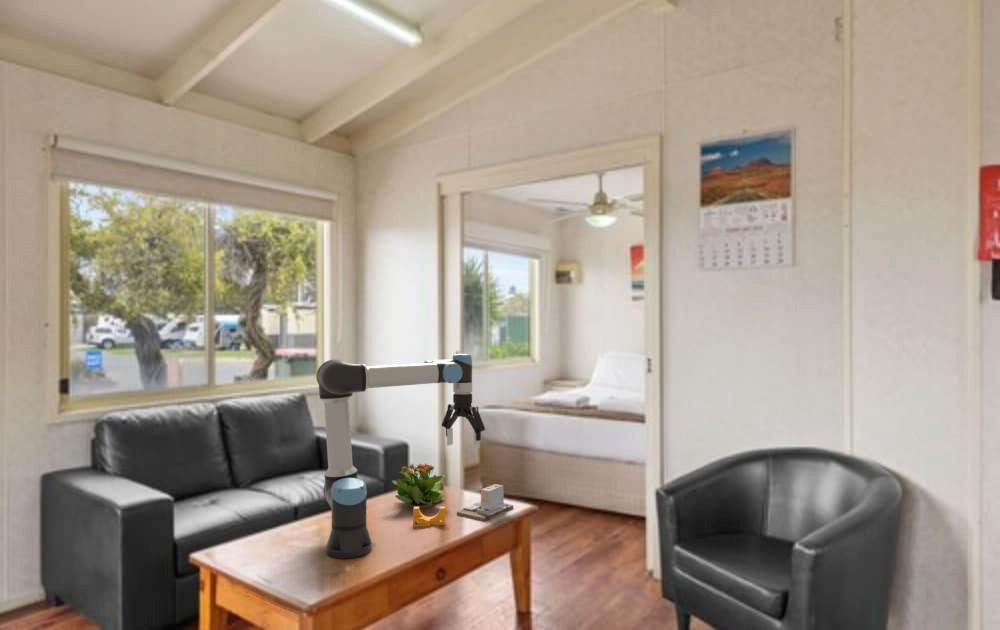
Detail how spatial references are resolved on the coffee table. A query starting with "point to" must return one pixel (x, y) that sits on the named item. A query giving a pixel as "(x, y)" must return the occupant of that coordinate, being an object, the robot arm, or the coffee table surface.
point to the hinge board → (472, 513)
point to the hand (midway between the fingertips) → (463, 446)
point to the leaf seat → (492, 512)
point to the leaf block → (492, 498)
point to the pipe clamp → (428, 518)
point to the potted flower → (419, 487)
